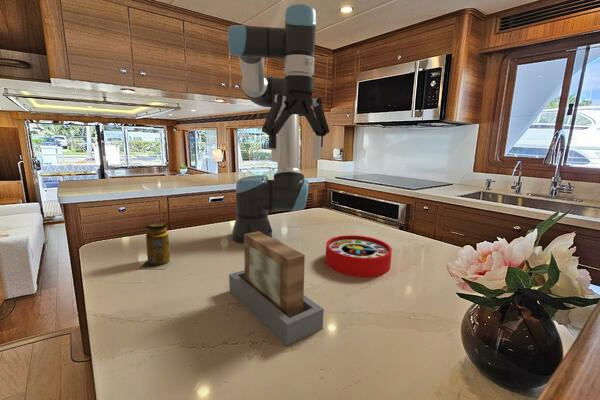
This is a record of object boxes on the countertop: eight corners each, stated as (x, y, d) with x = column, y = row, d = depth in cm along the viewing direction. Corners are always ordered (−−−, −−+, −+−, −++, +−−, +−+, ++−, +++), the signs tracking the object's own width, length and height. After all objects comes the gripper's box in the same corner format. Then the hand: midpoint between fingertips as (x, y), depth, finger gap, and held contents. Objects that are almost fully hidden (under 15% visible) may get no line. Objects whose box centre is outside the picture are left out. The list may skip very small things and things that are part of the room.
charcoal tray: (229, 290, 76) (229, 274, 75) (260, 281, 81) (260, 265, 80) (287, 346, 57) (287, 324, 56) (322, 328, 62) (323, 308, 61)
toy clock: (329, 233, 105) (388, 238, 102) (328, 248, 107) (387, 254, 103) (322, 254, 86) (395, 262, 82) (321, 273, 87) (393, 281, 84)
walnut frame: (244, 288, 74) (243, 234, 71) (259, 283, 77) (259, 231, 74) (286, 324, 61) (287, 259, 58) (303, 317, 63) (305, 254, 60)
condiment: (175, 257, 95) (172, 221, 93) (164, 269, 87) (161, 229, 84) (151, 257, 95) (148, 220, 92) (138, 269, 87) (134, 229, 84)
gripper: (263, 67, 66) (263, 164, 71) (345, 80, 81) (340, 159, 86) (247, 71, 72) (248, 161, 77) (326, 82, 87) (322, 157, 92)
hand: (296, 160), depth 81 cm, fingers open, 13 cm apart
